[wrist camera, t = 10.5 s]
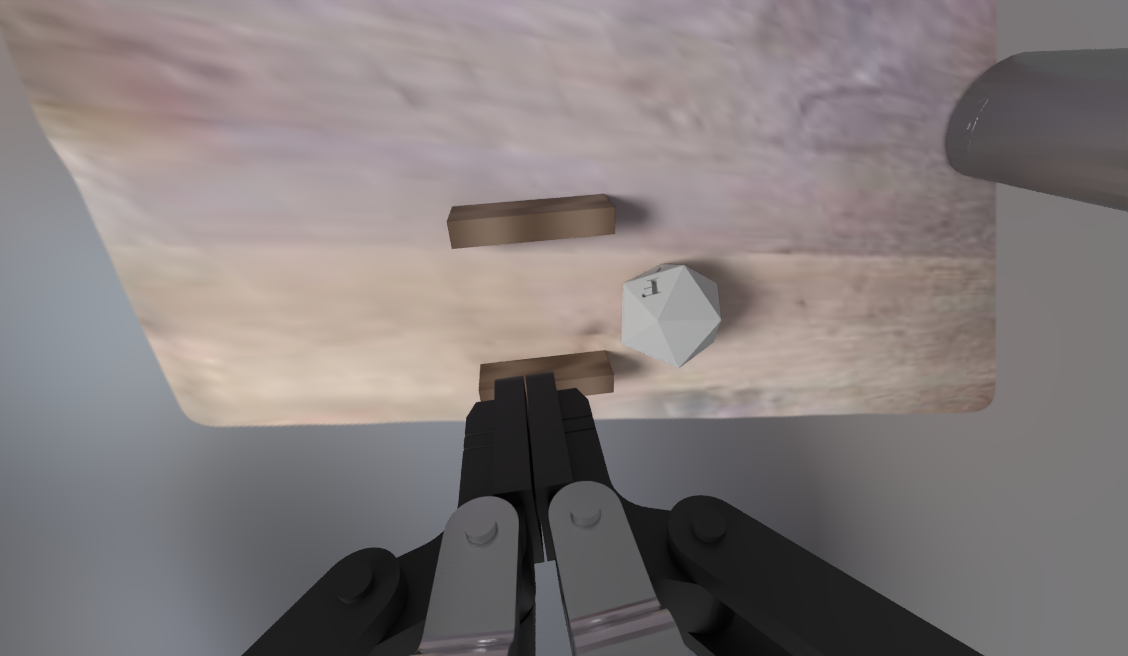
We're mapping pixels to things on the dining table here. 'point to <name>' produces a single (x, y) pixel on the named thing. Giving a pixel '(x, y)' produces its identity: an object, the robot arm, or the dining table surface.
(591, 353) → the pair of wooden rails
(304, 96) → the dining table surface
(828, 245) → the dining table surface
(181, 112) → the dining table surface
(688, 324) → the die
